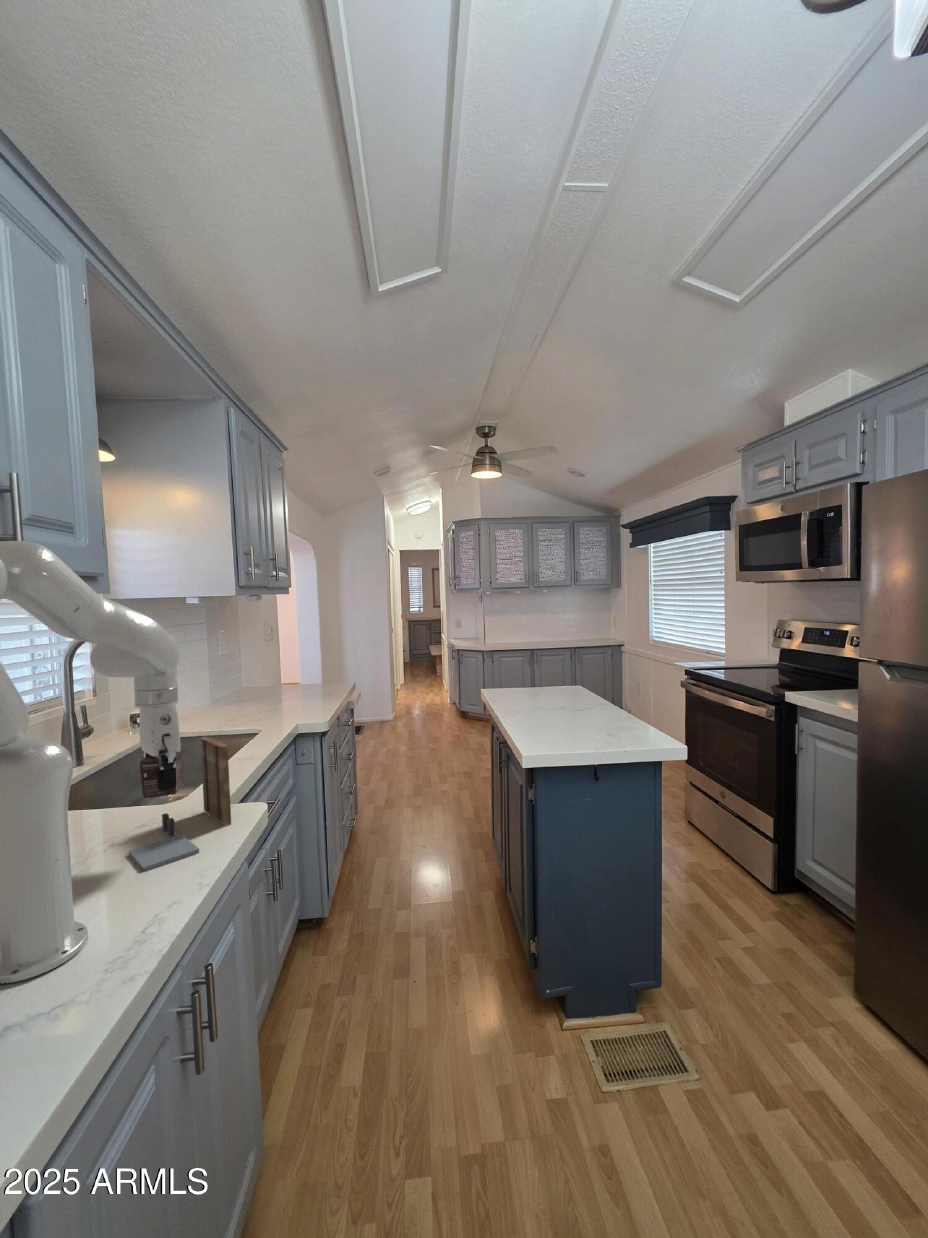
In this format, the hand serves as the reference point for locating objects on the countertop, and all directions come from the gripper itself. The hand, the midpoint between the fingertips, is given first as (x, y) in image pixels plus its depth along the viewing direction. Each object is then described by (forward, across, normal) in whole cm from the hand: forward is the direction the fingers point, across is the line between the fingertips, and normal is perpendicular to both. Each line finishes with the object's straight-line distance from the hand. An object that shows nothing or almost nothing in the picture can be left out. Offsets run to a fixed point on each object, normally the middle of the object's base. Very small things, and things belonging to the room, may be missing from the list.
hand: (159, 783), depth 109 cm
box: (+2, 0, -1) cm, 2 cm away
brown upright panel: (+14, +10, -10) cm, 20 cm away
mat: (+14, 0, 0) cm, 14 cm away
